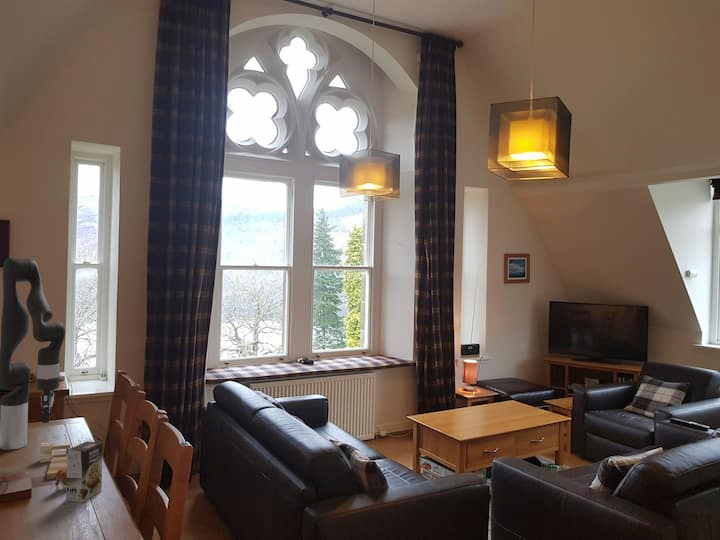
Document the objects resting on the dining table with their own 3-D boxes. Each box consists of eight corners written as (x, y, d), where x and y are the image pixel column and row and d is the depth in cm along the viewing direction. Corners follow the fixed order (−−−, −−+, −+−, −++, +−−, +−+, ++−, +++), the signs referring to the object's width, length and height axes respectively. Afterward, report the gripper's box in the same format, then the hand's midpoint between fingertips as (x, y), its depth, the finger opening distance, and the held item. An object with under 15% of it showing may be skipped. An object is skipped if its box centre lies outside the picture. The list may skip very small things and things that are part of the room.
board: (53, 456, 209) (53, 451, 209) (70, 455, 211) (70, 449, 211) (46, 479, 187) (46, 473, 187) (64, 477, 189) (65, 471, 189)
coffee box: (83, 503, 170) (84, 451, 170) (64, 500, 171) (66, 449, 171) (102, 491, 179) (103, 442, 179) (85, 489, 180) (86, 440, 180)
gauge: (41, 459, 205) (41, 443, 205) (70, 456, 209) (70, 440, 209) (39, 462, 202) (40, 446, 202) (69, 459, 206) (70, 443, 206)
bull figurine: (93, 479, 189) (94, 455, 189) (60, 494, 176) (61, 468, 176) (83, 477, 190) (84, 453, 190) (50, 491, 177) (50, 466, 177)
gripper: (38, 373, 209) (37, 415, 209) (33, 380, 196) (32, 425, 196) (61, 372, 212) (60, 413, 212) (57, 379, 199) (56, 423, 199)
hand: (47, 419), depth 204 cm, fingers open, 8 cm apart
